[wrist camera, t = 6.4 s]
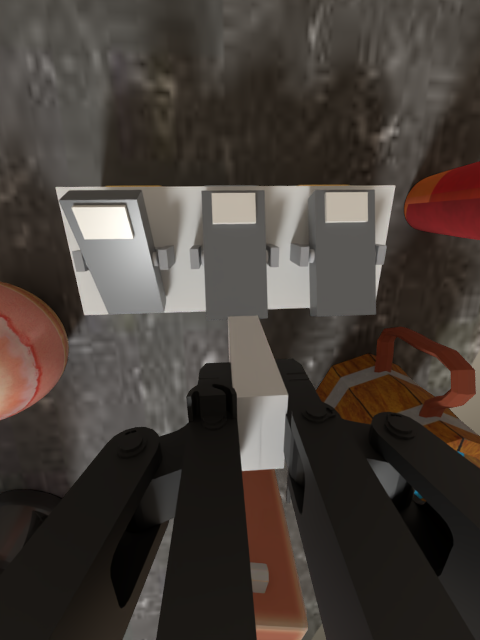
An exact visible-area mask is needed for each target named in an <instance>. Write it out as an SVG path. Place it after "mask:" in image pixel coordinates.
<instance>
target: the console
mask: <svg viewBox="0 0 480 640" xmlns="http://www.w3.org/2000/svg"><path fill="white" fill-rule="evenodd" d="M69 190H142V193H143V197H144V202H145V206H146V211H147V215H148V219H149V224H150V228H151V233H152V237H153V242H154V246H155V251H156V252H157V253H158V257H159V268H160V273H161V277H162V282H163V286H164V291H165V295H166V305H165V311H164V313H165V312H196V311H206V300H205V273H204V265H202V260H201V251H204V247H203V220H202V193H201V191H211V190H265V227H266V250H268V264H267V301H268V309H289V308H310V282H309V262H308V260H309V232H308V198H309V197H310V196H311V194H312V193H313V192H314V190H375V251H376V256H375V262H376V296H377V290H378V284H379V279H380V273H381V267H382V265H384V260H385V254H386V248H387V245H385V243H386V238H387V232H388V226H389V220H390V214H391V208H392V202H393V197H394V191H395V185H394V186H349V185H297V186H257V185H204V186H189V187H162V186H106V187H56V192H57V196H58V201H59V199H60V198H61V197H62V196H63V195H65V194H66V193H67V192H68V191H69ZM59 205H60V203H59ZM60 210H61V214H62V218H63V223H64V227H65V232H66V236H67V241H68V245H69V249H70V254H71V258H72V263H73V267H74V272H75V276H76V281H77V285H78V289H79V294H80V298H81V303H82V307H83V312H84V315H102V314H108V312H107V309H106V307H105V305H104V302H103V300H102V298H101V296H100V293H99V291H98V289H97V287H96V284H95V282H94V280H93V278H92V275H91V273H90V271H89V268H88V267H87V265H86V262H85V259H84V257H83V255H82V253H81V250H80V248H79V246H78V243H77V241H76V239H75V237H74V234H73V232H72V230H71V228H70V225H69V223H68V221H67V218H66V216H65V214H64V212H63V209H62V207H61V205H60Z"/></svg>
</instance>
